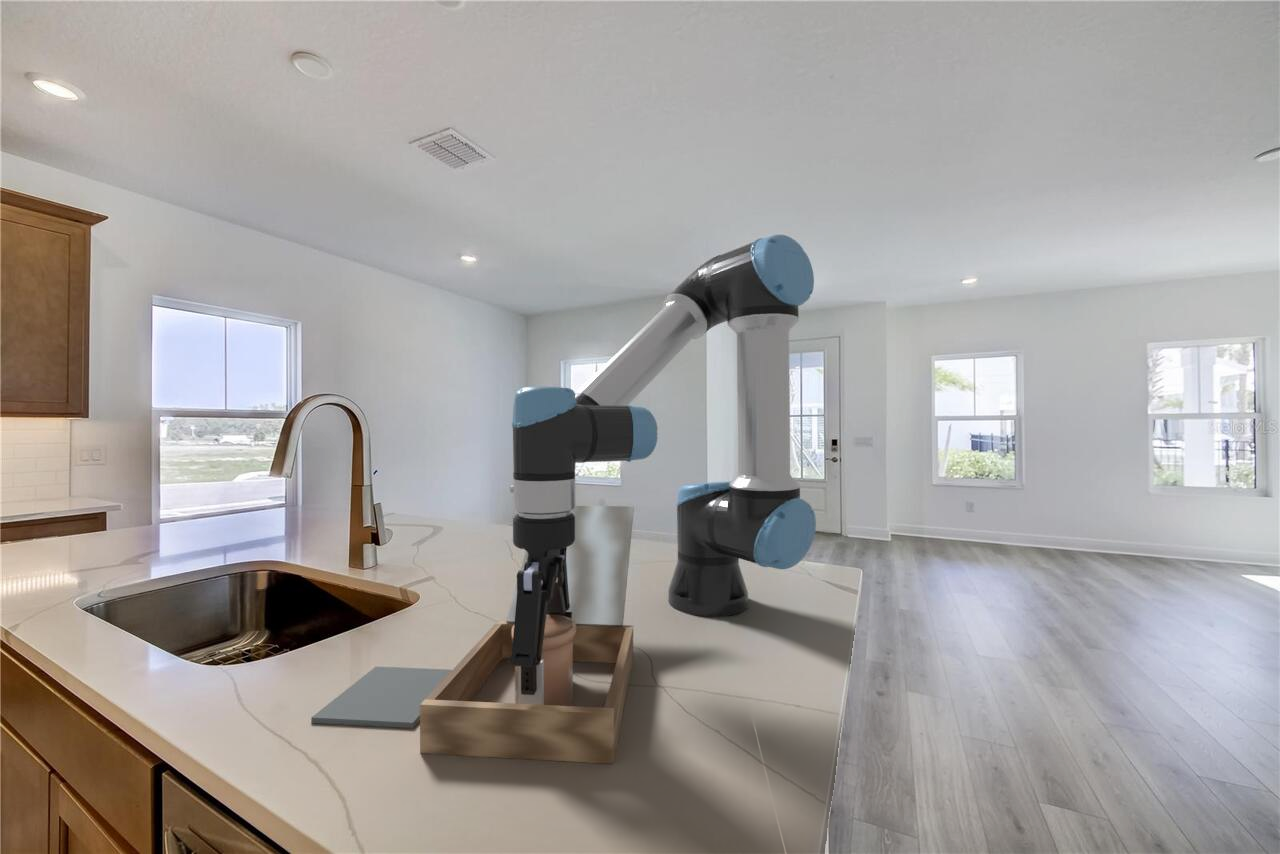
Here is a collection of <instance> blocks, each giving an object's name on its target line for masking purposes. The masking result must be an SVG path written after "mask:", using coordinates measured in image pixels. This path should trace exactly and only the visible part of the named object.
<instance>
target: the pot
mask: <svg viewBox="0 0 1280 854" xmlns="http://www.w3.org/2000/svg"><path fill="white" fill-rule="evenodd" d="M513 634H514V625H513V627H512V643H513ZM575 637H576V623H575V621H574V620H572V619H571V618H569V617H566V616H561V615H546V622H545V630H544V638H543V646H542V653H541V659H542V660H544V705H556V706H571V704H572V702H573V700H574V698H573V697H574V694H573V693H574V661H573V640H574V639H575ZM514 704H518V666H514Z"/></svg>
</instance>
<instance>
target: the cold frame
mask: <svg viewBox="0 0 1280 854" xmlns="http://www.w3.org/2000/svg"><path fill="white" fill-rule="evenodd" d="M634 508H635V507H634V506H622V505H621V506H620V505H617V506H614V505H613V506H611V505H610V506H609V505H576V507H575V508H574V510H572V511H571V513H573V515H574V516H575V541H574V543H573V544H572V545H570V546H568V547H567V550H566V565H567V579H568V592H569V604H570V608H569V610H566V612H572V618H571V619H572V620H574V621H575V623H576V637H575V639H574V640H573V662H579V663H581V662H583V663H584V662H585V663H607V664H609V663H610V664H612V663H613V664H615V666H614V669H613V670H614V671H613V674H612V677H611V681H610V685H609V688H608V692H607V695H606V699H605V703H604V707H596V706H595V707H594V706H576V705H575V706H574V705H569V706H556V705H535V704H515V703H511V702H490V701H489V702H488V701H487V702H485V701H471V700H472V698H473V697H474V696H475V694H476V693H477V692H478V691H479V689H481V687H482V686H483V684H484V683H485V681H487V679H488V678H489V676H490V675H491V673H492V672H493V671H494V670H495V668H496V667H497V665H498V664H499V663H500V662H501V660H503V659H506V660H508V659H509V660H510V657H511V656H512V645H513V643H512V627H513V625H514V623H515V612H516V600H517V583H516V585H515V588H514V590H513V591H514V592H513V595H512V598H511V603H510V605H509V610H508V611H507V612H508V613H507V616H506V620H505V621H504V620H497V621H496V623H494V625H493V626H492V627H491V628H490V629H488V631H487V632H486V633H485V634H484V635H483V637H481V638H480V640H478V642H477V643H475V645H474V646H473V647H472V648H471V649H470V650H469V651H468V652H467V653H466V654H465V656H464V657H463V658H462V659H461V660H460V661H459V662H458V663H457V665H456V666H455V667H454V668H453V669H451V670H452V671H451V672H450V673H449V674H448V675H447V676H446V677H445V678H444V679H443V680H442V682H441V683H440V684H439V685H438V686H437V687H436V688H435V689H434V690H433V691H432V692H431V693H430V694H429V696H428V697H427V698H426V699H425V700H424V701H423V702H422V703H421V704H420V721H419V753H420V754H429V755H430V754H431V755H445V756H447V755H448V756H449V755H450V756H463V757H464V756H465V757H466V756H468V757H484V758H485V757H487V758H501V759H503V758H504V759H517V760H518V759H519V760H522V759H523V760H537V761H538V760H539V761H553V762H554V761H555V762H557V761H558V762H572V763H573V762H574V763H575V762H576V763H592V764H609V765H613V764H614V758H615V754H616V749H617V744H618V743H617V742H618V740H619V739H618V738H619V735H620V734H619V732H620V728H621V723H622V719H623V715H624V710H625V709H624V708H625V703H626V700H627V699H626V698H627V693H628V688H629V683H630V678H631V674H632V673H631V672H632V668H633V664H634V625H628V624H627V625H625V624H624V618H625V606H626V597H627V596H626V595H627V587H628V576H629V575H628V574H629V566H630V565H629V564H630V554H631V543H632V542H631V541H632V535H633V534H632V533H633V532H632V531H633V524H634V523H633V522H634V514H635V513H634V511H635V509H634ZM527 558H528V552H527V551H526V550H525V553H524V556H523V560H522V563H521V565H520V566H521V567H520V570H524V565H525V563H526V562H527Z"/></svg>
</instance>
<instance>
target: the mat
mask: <svg viewBox="0 0 1280 854" xmlns="http://www.w3.org/2000/svg"><path fill="white" fill-rule="evenodd" d="M452 670H453V669H443V668H422V667H421V668H417V667H401V666H400V667H398V666H397V667H395V666H374V667H373V668H371V669H370V670H369V671H368V672H367V673H365V674H364V675H363V676H362V677H360V679H358V680H357V681H355V682H354V683H353V684H352V685H351V686H348V688H346V689H345V690H344V691H343V692H341V693H339V695H337V697H335V698H334V699H332V701H331V702H329V703H328V704H326V705H325V706H324V707H322V708H321V709H320V710H319V711H318V712H316V713H315V714H314V715H312V716H311V717H310V718H311V719H310V720H311V724H328V725H346V726H347V725H349V726H363V727H364V726H365V727H366V726H367V727H369V726H370V727H386V728H387V727H388V728H401V729H403V728H405V729H414V727H415V726H416V725H417V724H418V723H420V704H421V703H422V702H423V701H424V700H425V699H426V698H427V697H428V696H429V694H430V693H431V692H432V691H433V690H434V689H435V688H436V687H437V686H438V685H439V684H440V683H441V682H442V680H443V679H444V678H445V677H446V676H447V675H448V674H449V673H450V672H451V671H452Z"/></svg>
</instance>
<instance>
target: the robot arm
mask: <svg viewBox="0 0 1280 854" xmlns="http://www.w3.org/2000/svg"><path fill="white" fill-rule="evenodd" d="M814 286H815V275H814V270H813V266H812V263H811V261H810V258H809V256H808V254H807V253H806V252H805V251H804V248H803V247H802V246H801V244H800V243H798V241H796V240H795V239H793V238H792V237H790V236H788V235H784V234H773V235H770V236H767V237H764V238H763V237H761V238H757V239H756V240H754V241H752V242H750V243H747V244H745V245H742V246H740V247H738V248H735V249H733V250H730V251H727V252H725V253H723V254H718V255H716V256H713V257H712V258H709V260H706V261H705V262H704V263H703V264H701V265H700V266H698V267H697V268H696V269H695V270H694V271H693V272H692V273H691V274H689V276H687V277H686V278H685V279H684V280H683V281H682V282H681V283H680V284H679V285H678V286H677V287H676V288H675V289H674V290H673V291H672V292H671V293H669V295H667V297H666V298H665V299H664V301H663V303H662V309H661V310H660V311H659V312H658V313H657V314H655V316H654V317H652V319H650V321H649V322H648V323H646V325H645V326H643V327H642V329H640V330H639V331H638V332H637V333H636V334H635V335H634V336H633V337H632V338H631V339H630V340H629V341H628V342H627V343H626V344H625V345H624V346H623V347H621V349H619V350H618V352H616V354H614V355H613V356H612V357H611V358H610V359H609V360H608V361H607V362H606V363H605V364H604V365H603V366H602V367H601V368H600V369H599V370H597V372H596V373H595V374H594V375H593V376H591V378H590V379H589V380H588V381H587V382H585V383H584V384H583V386H581V387H580V388H579V389H578V390H577V391H576V392H575V391H574V389H572V388H569V387H561V386H526V387H521V388H520V389H518V390H517V392H516V393H515V395H514V401H513V409H512V412H513V413H512V422H511V428H512V447H513V449H512V454H513V458H512V459H513V460H512V461H513V473H512V475H513V484H512V485H510V487H509V492H510V493H512V494H513V497H512V498H513V499H512V500H513V502H512V503H513V504H512V505H513V511H515V512H516V513H517V514H515V515H514V517H513V519H512V544H513V545H514V546H515V547H516V548H518V549H520V550H524V551H525V552H526V551H527V552H528V558H527V562H526V563H525V565H524V570H521V569H520V570H518V571H517V574H516V584H517V600H516V612H515V623H514V634H513V645H512V656H511V657H510V659H509V663H510V665H511V666H512V667H515V666H518V704H535V705H544V660H542V659H541V653H542V646H543V638H544V630H545V622H546V615H561V616H566V617H569V618H572V612H566V610H569V608H570V604H569V592H568V579H567V565H566V550H567V547H568V546H570V545H572V544H573V543H574V541H575V516H574V515H573V513H571V511H572V510H574V508H575V507H576V506H577V505H576V464H581V463H583V464H585V463H594V462H595V463H599V462H601V463H602V462H604V463H605V462H624V461H625V462H627V463H630V462H632V461H638V460H644V459H647V458H649V457H650V456H651V455H652V454H653V452H654V451H655V448H656V446H657V443H658V439H659V436H658V430H659V429H658V425H657V421H656V419H655V416H654V415H653V413H652V412H651V410H649V409H647V408H645V407H641V406H633V405H630V404H631V403H632V402H633V401H634V400H635V399H637V397H638V396H639V395H640V394H641V392H642V391H643V390H645V388H646V387H647V386H648V385H650V384H651V382H652V381H653V380H654V379H655V378H657V376H658V375H659V374H660V373H661V372H662V371H663V370H664V369H665V368H666V367H667V366H668V365H669V364H670V363H671V361H673V360H674V358H675V357H676V356H677V355H678V354H679V353H680V352H681V351H682V350H683V349H684V348H685V347H686V346H688V344H689V343H690V342H691V341H692V340H697V339H700V338H702V337H703V336H704V335H705V334H706V333H707V332H708V331H709V330H710V329H712V328H714V327H716V326H718V325H720V324H722V323H725V322H727V326H728V327H729V328H730V329H731V330H733V331H734V332H735V334H736V385H737V386H736V388H737V389H736V390H737V391H736V392H737V397H736V399H737V401H736V402H737V403H736V404H737V406H736V407H737V412H736V413H737V474H736V476H735V478H733V479H732V480H731V481H729V480H728V481H714V482H713V481H711V482H701V483H699V482H698V483H689V484H683V485H682V486H680V487H679V489H678V494H677V503H676V517H677V518H676V524H677V525H676V527H677V535H676V538H677V540H676V541H677V561H676V565H675V568H674V571H673V575H672V578H671V581H670V584H669V587H668V598H667V599H668V603H669V605H670V607H672V608H673V609H674V610H676V611H679V612H681V613H685V614H689V615H692V616H699V617H710V618H711V617H712V618H714V617H728V616H733V615H736V614H740V613H742V612H744V611H746V610H747V609H748V607H749V592H748V589H747V585H746V582H745V579H744V575H743V573H742V569H741V566H740V563H739V561H740V560H743V561H747V562H749V563H753V564H755V565H758V566H759V567H764V568H772V569H776V570H777V569H778V570H786V569H787V570H788V569H791V568H793V567H795V566H797V565H798V564H799V563H800V562H801V561H802V560H803V559H804V558H805V557H806V555H807V553H808V552H809V551H810V549H811V546H812V544H813V542H814V539H815V536H816V535H815V534H816V530H817V529H816V527H817V520H816V519H817V518H816V514H815V512H814V510H813V507H812V506H811V504H810V503H808V502H807V500H804V499H802V498H801V486H800V484H799V482H798V481H797V480H796V479H795V478H793V476H792V474H791V418H790V417H791V416H790V414H791V413H790V410H791V409H790V407H791V405H790V395H791V394H790V391H791V390H790V389H791V388H790V385H791V384H790V382H791V381H790V331H791V329H793V328H794V326H795V325H796V324H797V323H798V322H799V306H802V305H803V304H805V303H806V302H807V301H809V300H810V298H811V295H812V294H813V291H814Z"/></svg>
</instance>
